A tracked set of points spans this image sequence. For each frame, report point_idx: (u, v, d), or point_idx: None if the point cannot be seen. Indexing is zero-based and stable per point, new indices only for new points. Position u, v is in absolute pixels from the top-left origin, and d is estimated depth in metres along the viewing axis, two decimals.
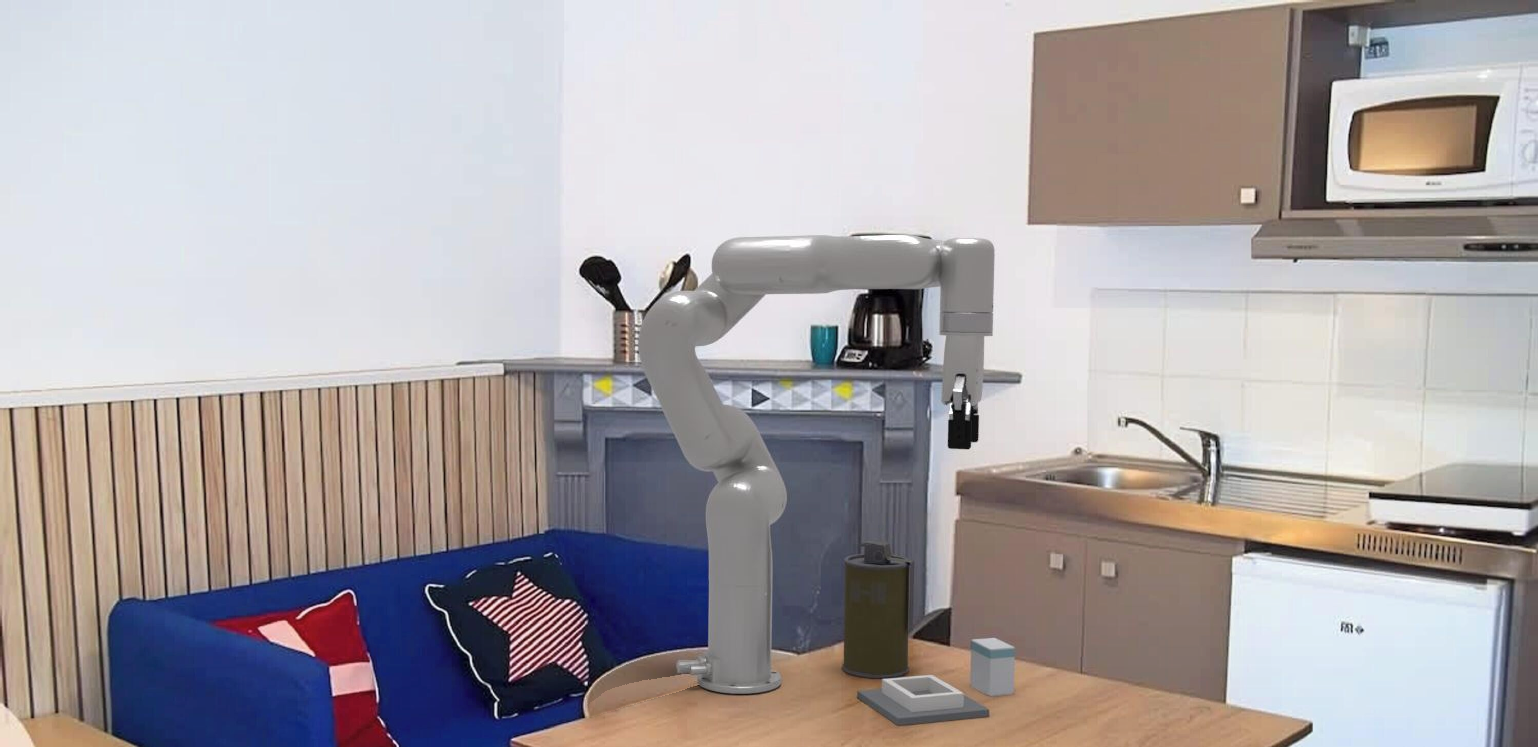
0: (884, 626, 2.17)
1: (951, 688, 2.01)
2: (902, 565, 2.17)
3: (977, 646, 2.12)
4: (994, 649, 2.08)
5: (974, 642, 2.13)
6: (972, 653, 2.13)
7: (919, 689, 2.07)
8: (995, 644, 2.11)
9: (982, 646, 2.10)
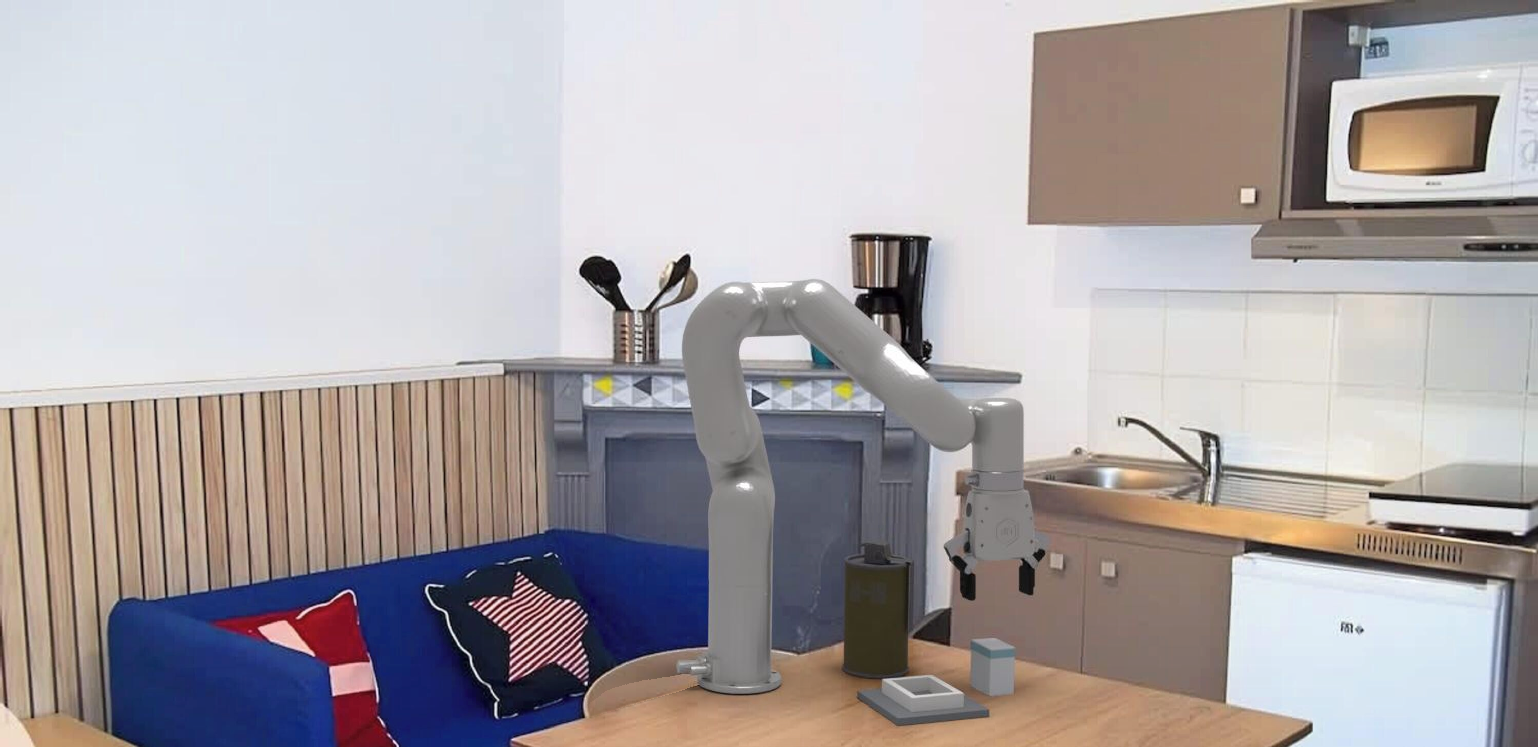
0: (884, 626, 2.17)
1: (951, 688, 2.01)
2: (902, 565, 2.17)
3: (977, 646, 2.12)
4: (994, 649, 2.08)
5: (974, 642, 2.13)
6: (972, 653, 2.13)
7: (919, 689, 2.07)
8: (995, 644, 2.11)
9: (982, 646, 2.10)
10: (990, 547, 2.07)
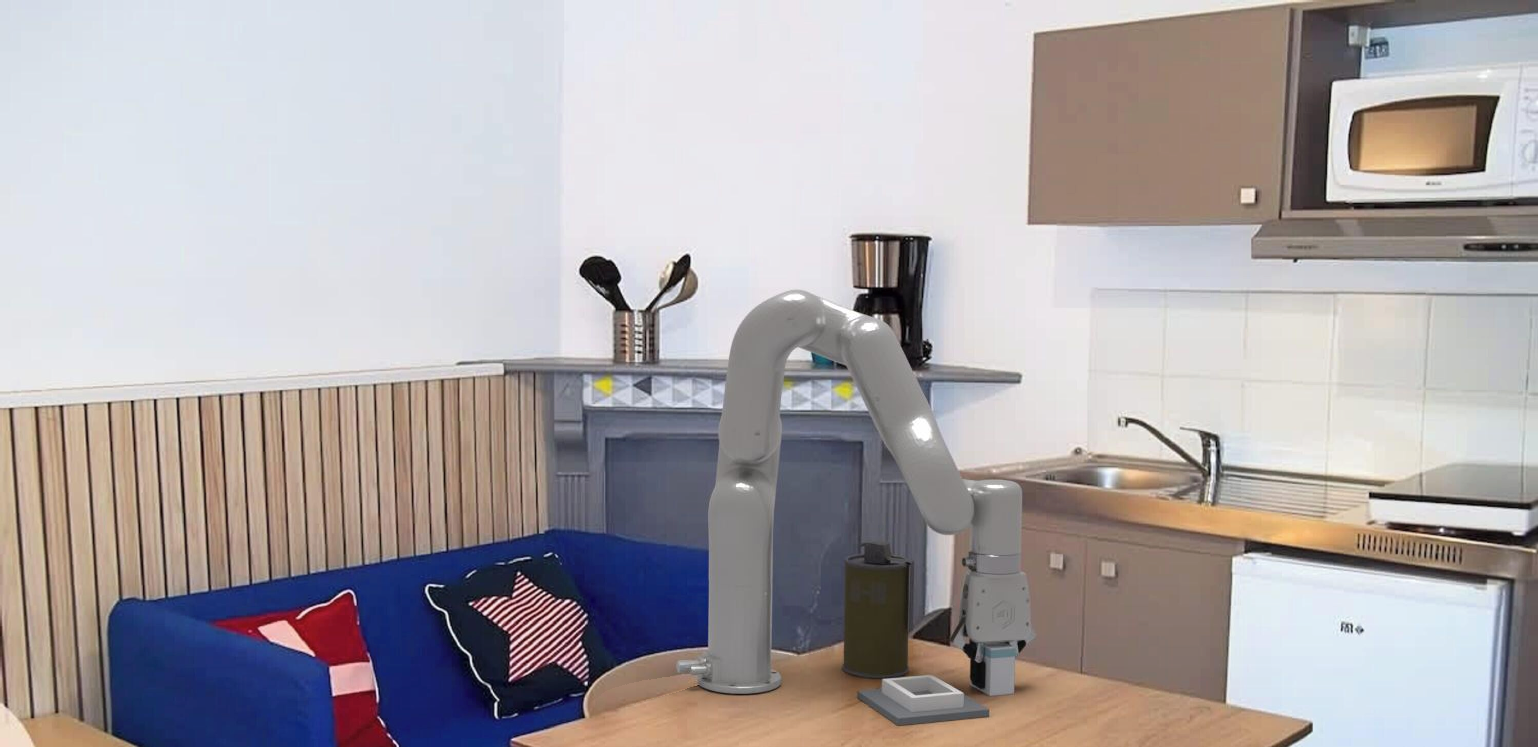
0: (884, 626, 2.17)
1: (951, 688, 2.01)
2: (902, 565, 2.17)
3: None
4: (994, 649, 2.08)
5: None
6: None
7: (919, 689, 2.07)
8: (995, 644, 2.11)
9: None
10: (986, 629, 2.08)
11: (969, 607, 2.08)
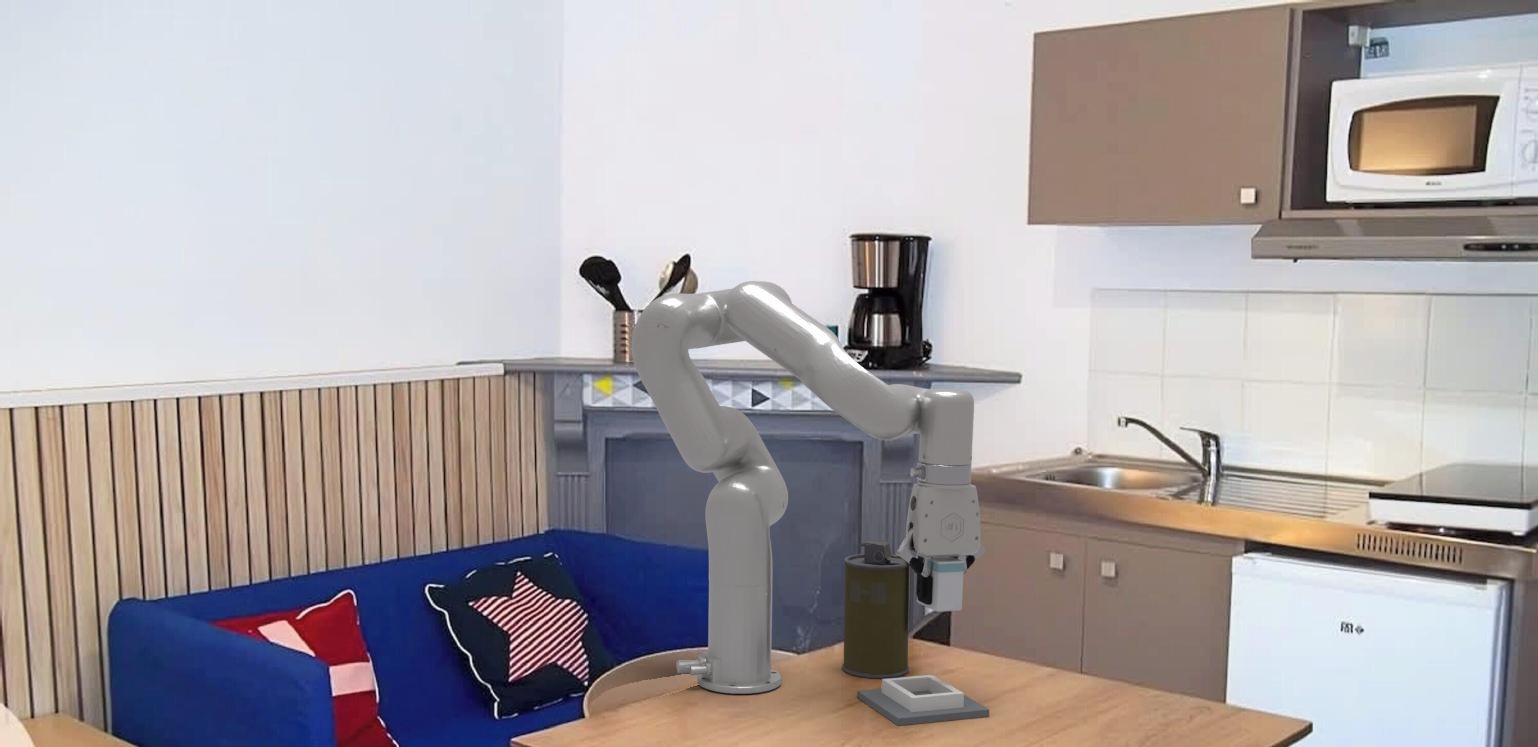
0: (884, 626, 2.17)
1: (951, 688, 2.01)
2: (902, 565, 2.17)
3: None
4: (942, 563, 2.00)
5: None
6: None
7: (919, 689, 2.07)
8: (944, 559, 2.03)
9: None
10: (934, 542, 2.00)
11: (917, 519, 2.00)
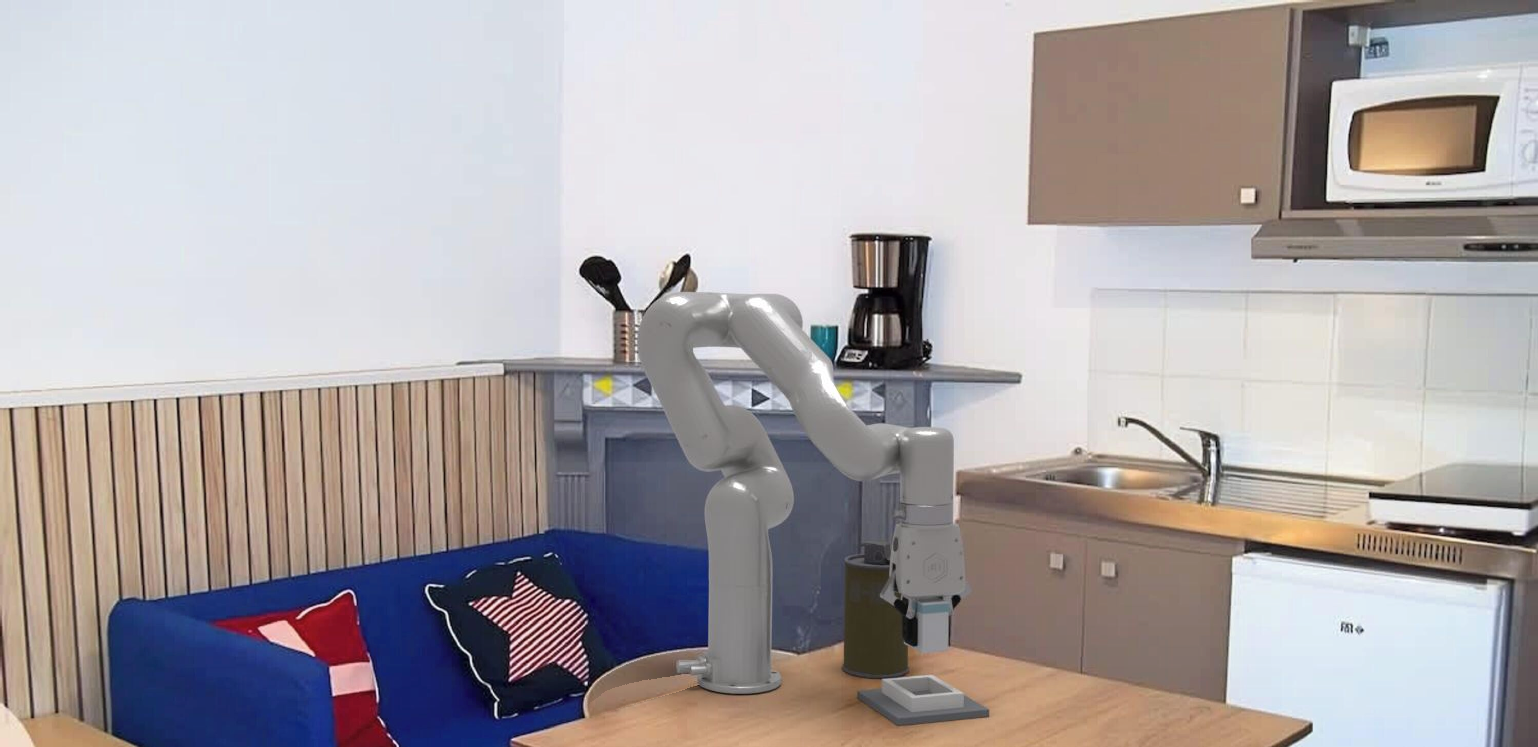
0: (884, 626, 2.17)
1: (951, 688, 2.01)
2: None
3: None
4: (927, 604, 1.98)
5: None
6: None
7: (919, 689, 2.07)
8: (928, 599, 2.01)
9: None
10: (917, 584, 1.98)
11: (899, 560, 1.98)
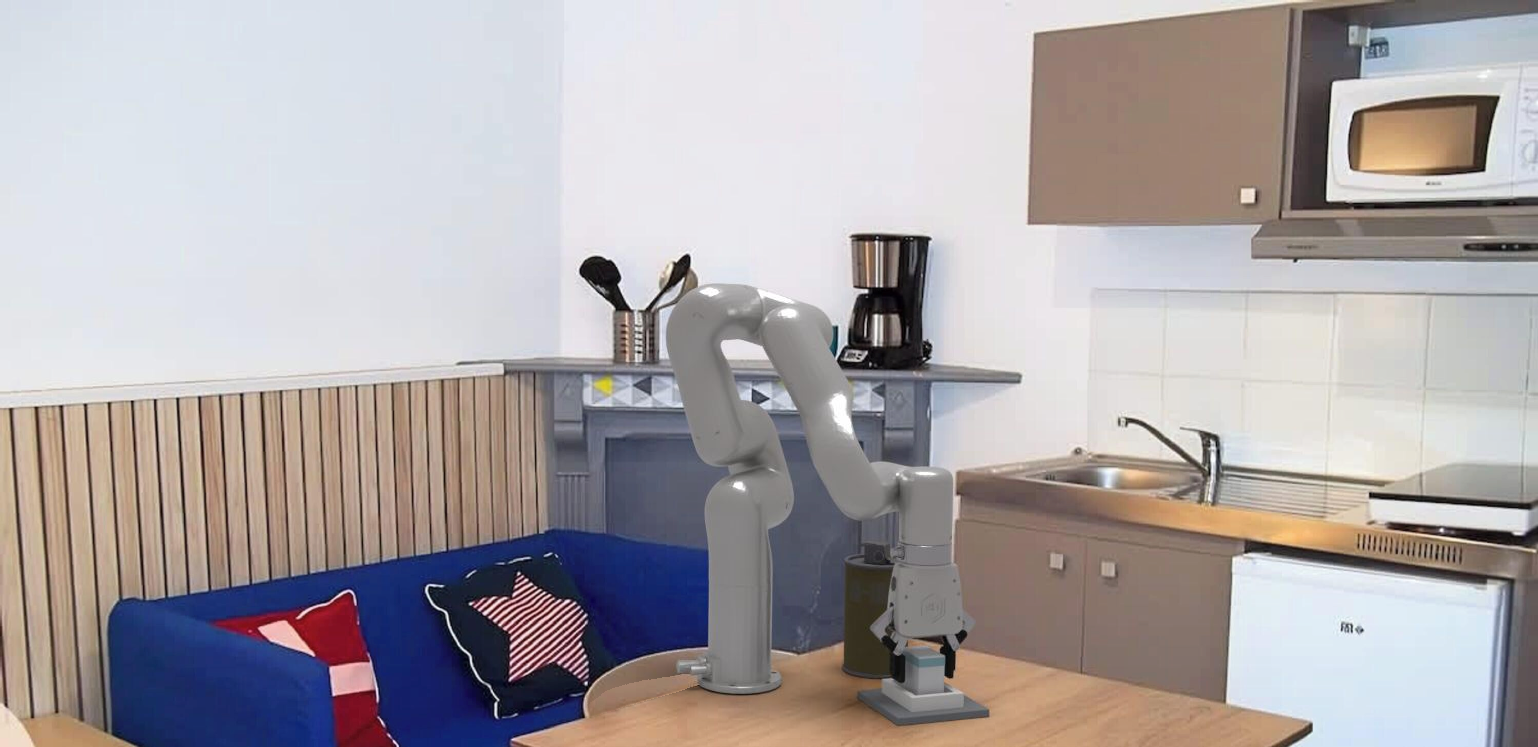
0: None
1: (951, 688, 2.01)
2: None
3: (906, 654, 2.02)
4: (923, 657, 1.99)
5: (903, 650, 2.03)
6: None
7: None
8: (925, 652, 2.01)
9: (911, 654, 2.01)
10: (914, 623, 1.98)
11: (897, 600, 1.98)
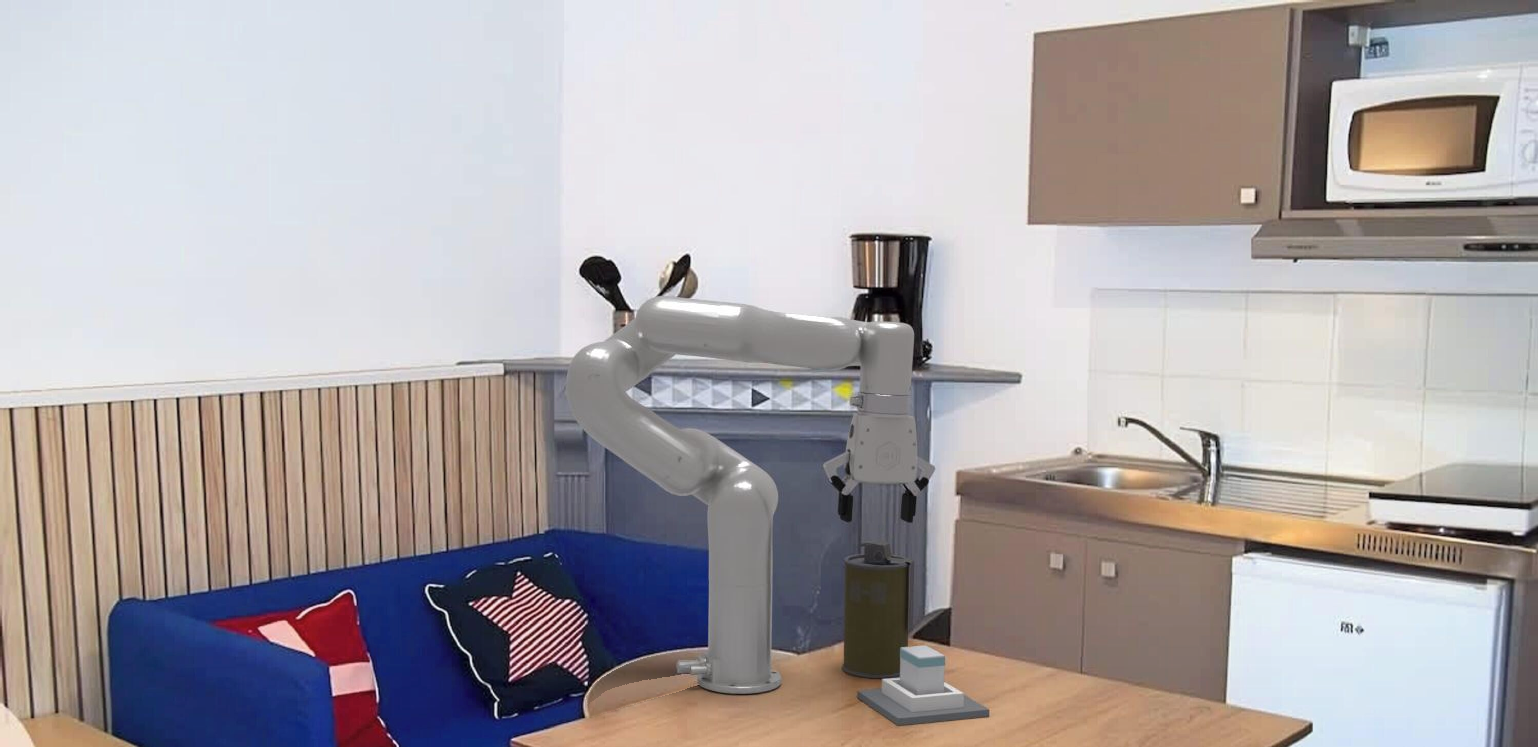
0: (884, 626, 2.17)
1: (951, 688, 2.01)
2: (902, 565, 2.17)
3: (906, 654, 2.02)
4: (923, 657, 1.99)
5: (903, 650, 2.03)
6: (901, 661, 2.04)
7: None
8: (925, 652, 2.01)
9: (911, 654, 2.01)
10: (869, 469, 2.06)
11: (853, 446, 2.06)
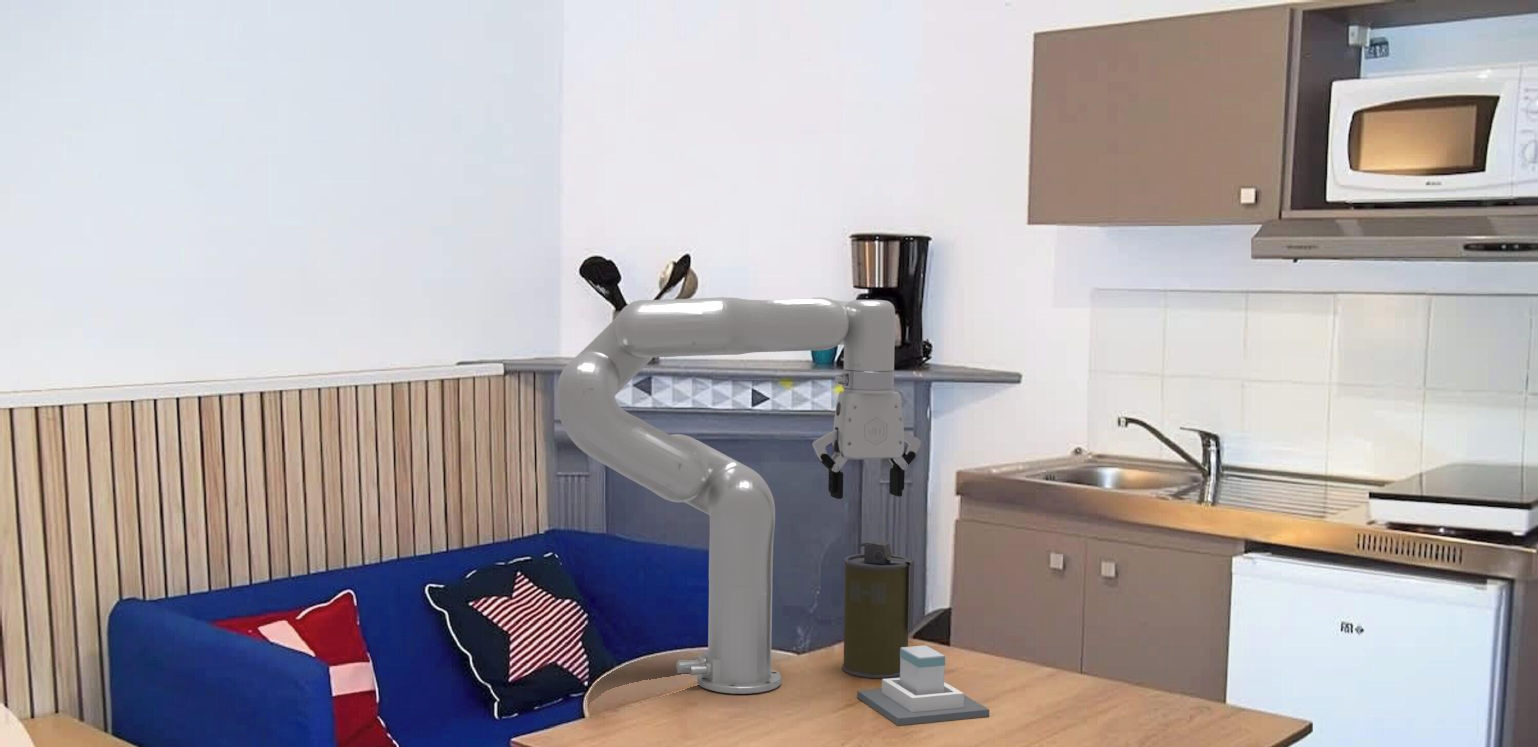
0: (884, 626, 2.17)
1: (951, 688, 2.01)
2: (902, 565, 2.17)
3: (906, 654, 2.02)
4: (923, 657, 1.99)
5: (903, 650, 2.03)
6: (901, 661, 2.04)
7: None
8: (925, 652, 2.01)
9: (911, 654, 2.01)
10: (858, 446, 2.09)
11: (841, 424, 2.09)
